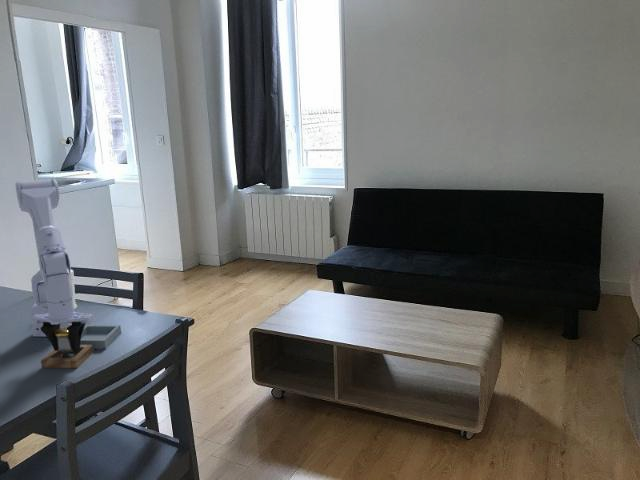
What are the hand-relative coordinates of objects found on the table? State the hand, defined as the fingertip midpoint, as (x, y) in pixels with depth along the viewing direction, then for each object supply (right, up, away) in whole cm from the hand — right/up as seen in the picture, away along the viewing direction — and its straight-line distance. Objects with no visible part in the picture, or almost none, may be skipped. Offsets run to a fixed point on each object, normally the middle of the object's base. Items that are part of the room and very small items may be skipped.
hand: (67, 349), depth 135 cm
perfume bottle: (-16, +6, +36) cm, 39 cm away
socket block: (0, -3, +1) cm, 3 cm away
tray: (+3, 0, +11) cm, 12 cm away
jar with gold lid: (0, -3, +1) cm, 3 cm away
